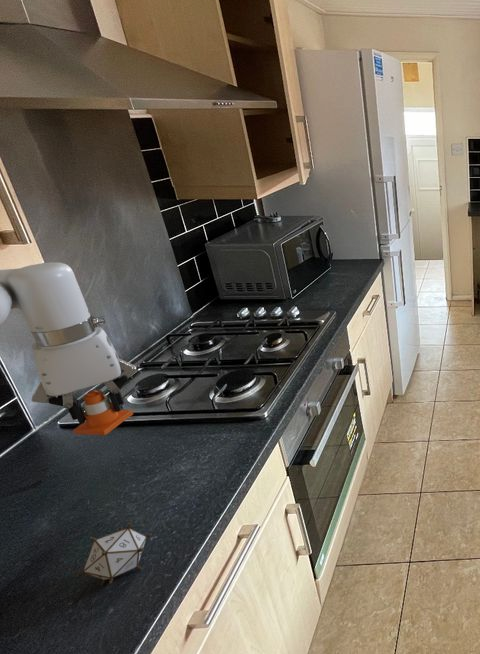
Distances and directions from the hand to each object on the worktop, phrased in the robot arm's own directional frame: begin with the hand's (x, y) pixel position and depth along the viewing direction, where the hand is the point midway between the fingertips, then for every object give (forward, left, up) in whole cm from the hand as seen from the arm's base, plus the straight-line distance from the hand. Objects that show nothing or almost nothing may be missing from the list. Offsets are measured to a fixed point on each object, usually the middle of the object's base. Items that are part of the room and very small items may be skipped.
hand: (100, 413), depth 81 cm
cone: (0, 0, -3) cm, 3 cm away
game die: (+14, -16, -19) cm, 29 cm away
